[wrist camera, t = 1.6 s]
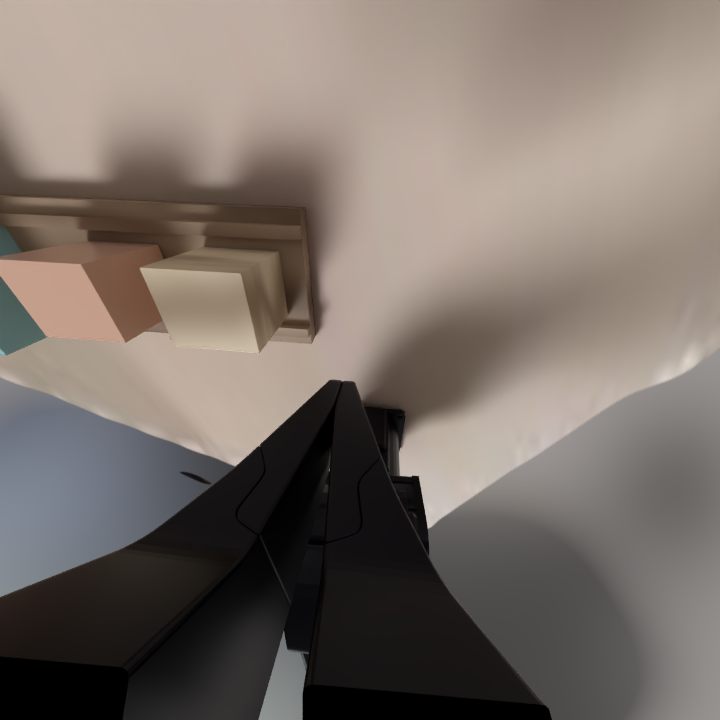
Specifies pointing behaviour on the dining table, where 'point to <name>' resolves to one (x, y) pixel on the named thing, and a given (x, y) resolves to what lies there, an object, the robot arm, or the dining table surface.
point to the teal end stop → (14, 309)
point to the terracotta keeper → (85, 289)
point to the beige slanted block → (219, 297)
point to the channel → (175, 237)
